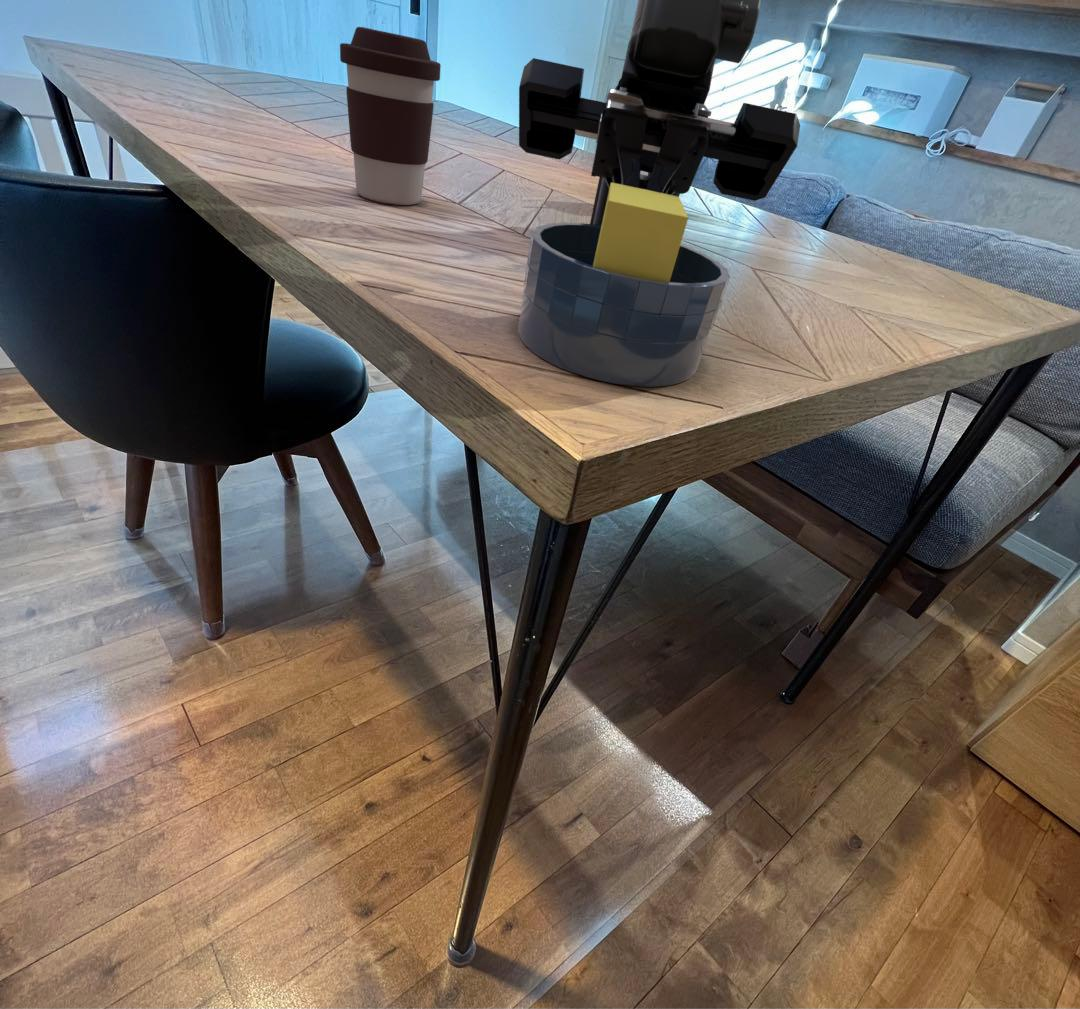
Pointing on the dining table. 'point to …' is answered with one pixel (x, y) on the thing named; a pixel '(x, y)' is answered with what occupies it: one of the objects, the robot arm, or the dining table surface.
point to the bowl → (616, 311)
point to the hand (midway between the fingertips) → (631, 240)
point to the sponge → (640, 233)
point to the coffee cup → (389, 113)
